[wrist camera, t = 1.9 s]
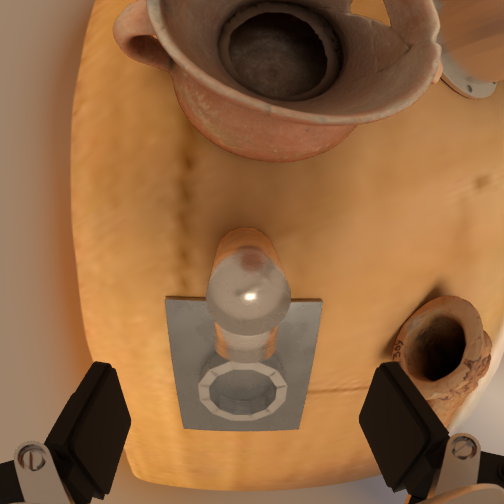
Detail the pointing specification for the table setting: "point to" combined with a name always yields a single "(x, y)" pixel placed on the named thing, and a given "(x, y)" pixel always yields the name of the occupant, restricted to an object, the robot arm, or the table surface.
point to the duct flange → (241, 370)
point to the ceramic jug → (284, 67)
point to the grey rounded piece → (247, 296)
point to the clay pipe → (444, 352)
